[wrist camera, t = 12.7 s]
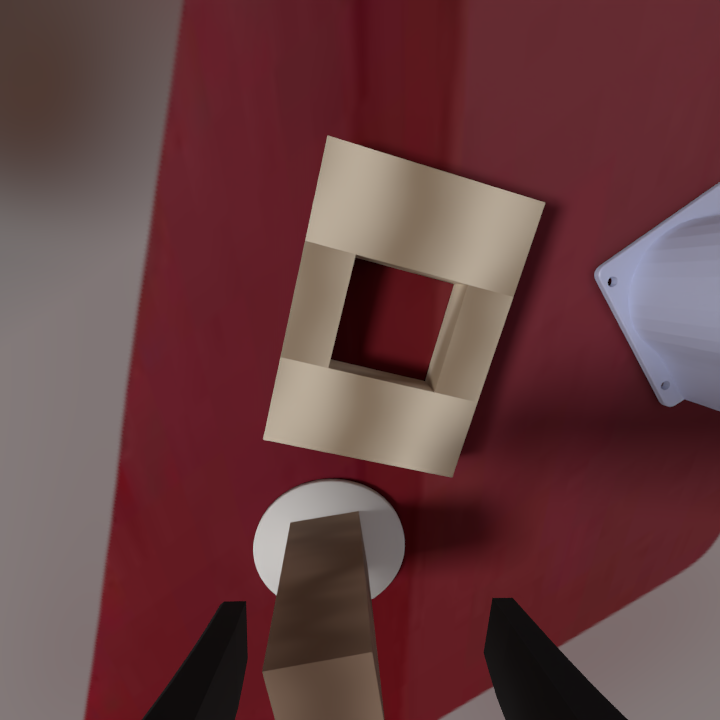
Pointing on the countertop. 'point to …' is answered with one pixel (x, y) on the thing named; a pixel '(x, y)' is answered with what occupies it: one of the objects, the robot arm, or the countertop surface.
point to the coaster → (328, 500)
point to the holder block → (413, 254)
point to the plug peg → (324, 626)
